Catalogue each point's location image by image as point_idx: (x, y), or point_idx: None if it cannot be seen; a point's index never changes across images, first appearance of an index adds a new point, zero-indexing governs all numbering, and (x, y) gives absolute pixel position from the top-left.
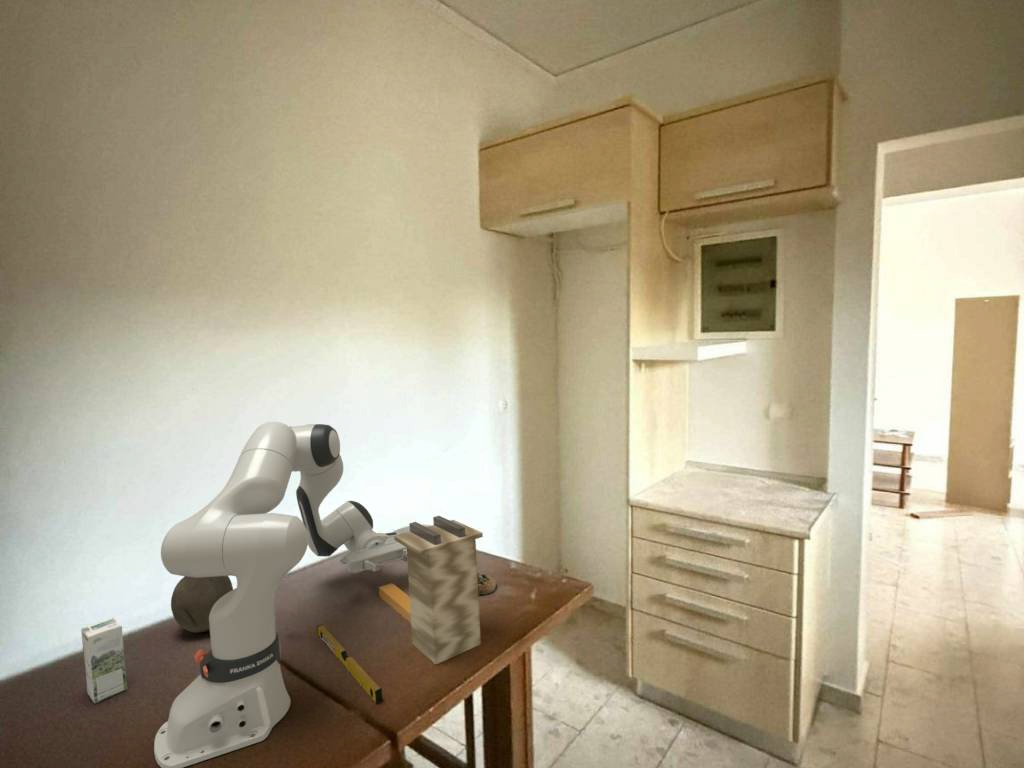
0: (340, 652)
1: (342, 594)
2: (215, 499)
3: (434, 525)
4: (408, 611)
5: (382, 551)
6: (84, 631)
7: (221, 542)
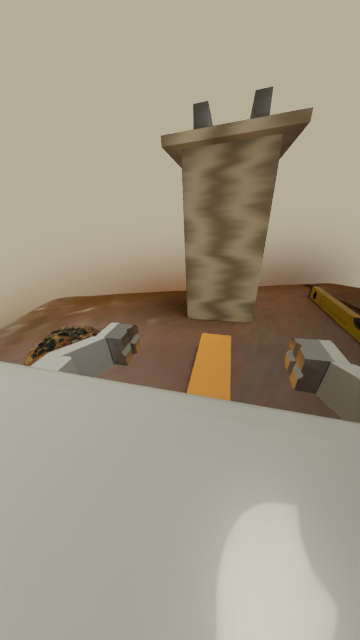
0: None
1: None
2: None
3: (208, 128)
4: (229, 341)
5: (202, 420)
6: None
7: None
